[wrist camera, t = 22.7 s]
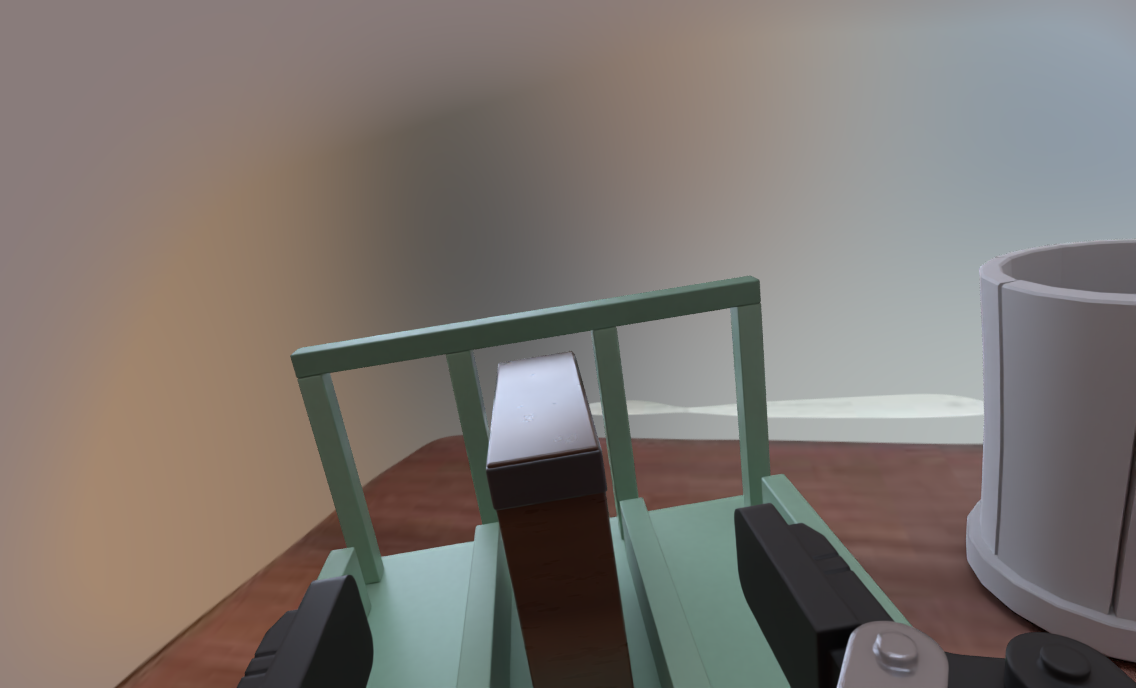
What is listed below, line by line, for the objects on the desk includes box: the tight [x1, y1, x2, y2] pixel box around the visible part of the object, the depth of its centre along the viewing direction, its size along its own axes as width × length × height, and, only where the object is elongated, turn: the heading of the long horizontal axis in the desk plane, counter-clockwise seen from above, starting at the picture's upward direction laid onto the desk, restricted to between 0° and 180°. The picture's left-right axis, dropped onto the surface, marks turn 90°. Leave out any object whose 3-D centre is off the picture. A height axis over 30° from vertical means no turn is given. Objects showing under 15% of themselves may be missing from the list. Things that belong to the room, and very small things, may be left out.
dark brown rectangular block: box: [486, 351, 634, 688], centre depth 20 cm, size 8×3×10 cm, turn 4°
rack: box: [291, 276, 912, 688], centre depth 20 cm, size 16×20×12 cm
